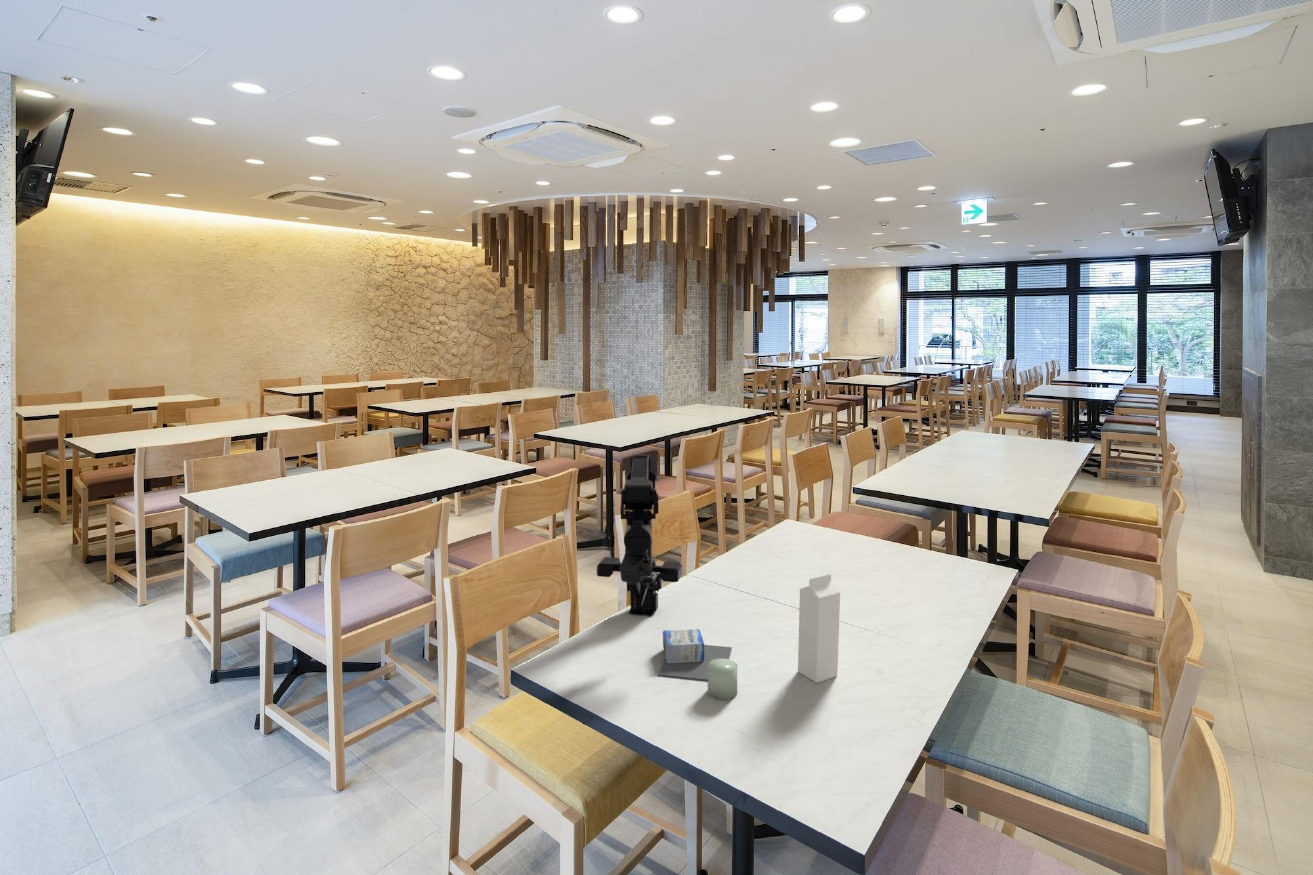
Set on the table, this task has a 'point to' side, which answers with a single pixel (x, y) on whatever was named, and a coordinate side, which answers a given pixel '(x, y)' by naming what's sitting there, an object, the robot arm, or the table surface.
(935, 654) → the table surface
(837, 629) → the milk
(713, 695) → the pale green cylinder
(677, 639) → the medicine box
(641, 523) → the robot arm
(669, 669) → the mat
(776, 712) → the table surface
